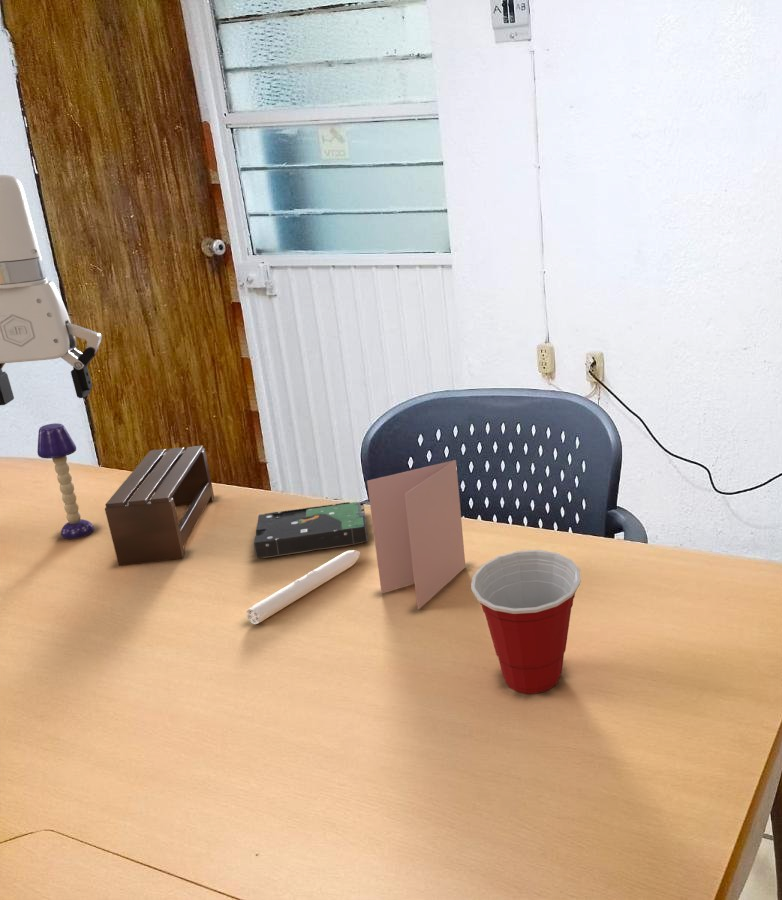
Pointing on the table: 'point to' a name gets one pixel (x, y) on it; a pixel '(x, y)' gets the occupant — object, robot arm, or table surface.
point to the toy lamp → (63, 476)
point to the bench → (159, 505)
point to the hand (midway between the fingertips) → (45, 399)
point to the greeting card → (418, 529)
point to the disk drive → (310, 529)
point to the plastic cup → (528, 614)
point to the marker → (301, 587)
